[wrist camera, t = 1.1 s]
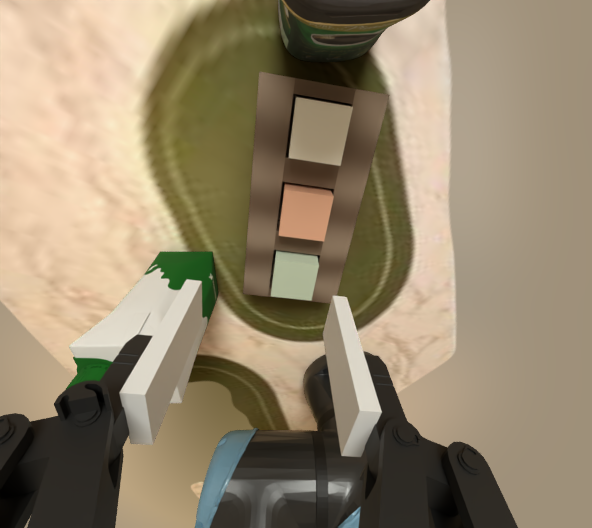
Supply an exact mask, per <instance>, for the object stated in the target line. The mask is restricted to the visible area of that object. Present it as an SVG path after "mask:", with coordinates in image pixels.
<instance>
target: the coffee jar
mask: <svg viewBox="0 0 592 528" xmlns="http://www.w3.org/2000/svg"><path fill="white" fill-rule="evenodd" d="M429 1H430V0H278V12H279V22H280V29H281V35H282V39H283V42H284V44H285V47H286V48H287V50H288V51H289V52H290V54H292V55H293V56H294V57H296V58H297V59H300V60H303V61H310V62H338V61H345V60H350V59H355V58H358V57H360V56H362V55H363V54H365V53H366V52H367V51H368V50H369V49H370V48H371V47H372V46H373V45H374V44H375V43H376V41H377V40H378V38H379V37H380V35H381V34H382V33H383V32H384V31H385V29H386V28H388V27H390V26H392V25H394V24H396V23H398V22H399V21H402V20H404V19H406V18H407V17H409V16H411V15H413V14H415V13H416V12H418V11H419V10H420V9H421V8H423V7H424V6H425V5H426V4H427V3H428V2H429Z"/></svg>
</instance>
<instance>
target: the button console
mask: <svg viewBox="0 0 592 528" xmlns="http://www.w3.org/2000/svg"><path fill="white" fill-rule="evenodd" d="M296 97H299V98H304V99H310V100H316V101H322V102H327V103H333V104H339V105H345V106H350V107H353V110H352V114H351V119H350V124H349V128H348V133H347V138H346V142H345V147H344V152H343V156H342V161H341V165H340V166H338V165H331V164H325V163H318V162H312V161H305V160H299V159H292V158H289V146H290V139H291V131H292V123H293V115H294V108H295V100H296ZM388 99H389V95H386V94H381V93H375V92H370V91H364V90H359V89H353V88H347V87H342V86H336V85H331V84H325V83H320V82H314V81H309V80H303V79H298V78H292V77H286V76H281V75H275V74H270V73H264V72H259V84H258V98H257V112H256V125H255V139H254V153H253V166H252V180H251V193H250V207H249V221H248V234H247V248H246V262H245V275H244V289H243V294H249V295H258V296H267V297H272V296H271V288H272V278H273V270H274V263H275V255H276V250H281V251H289V252H297V253H305V254H313V255H317V258H318V263H319V268H318V272H317V277H316V282H315V286H314V291H313V296H312V300H311V301H314V302H323V303H331V300H332V296H337V292H338V288H339V285H340V281H341V277H342V273H343V269H344V266H345V262H346V258H347V254H348V250H349V247H350V243H351V239H352V235H353V231H354V228H355V224H356V220H357V216H358V213H359V209H360V205H361V201H362V197H363V194H364V190H365V186H366V182H367V178H368V175H369V171H370V167H371V163H372V159H373V156H374V152H375V148H376V144H377V141H378V137H379V133H380V129H381V125H382V122H383V118H384V114H385V110H386V106H387V103H388ZM285 182H289V183H296V184H303V185H310V186H317V187H323V188H330V190H331V192H332V194H333V196H334V198H333V203H332V207H331V212H330V217H329V221H328V226H327V231H326V235H325V240H324V241H316V240H308V239H300V238H293V237H285V236H279V224H280V216H281V208H282V201H283V193H284V185H285ZM277 298H281V297H277ZM286 299H291V298H286ZM295 300H300V299H295ZM304 301H309V300H304Z"/></svg>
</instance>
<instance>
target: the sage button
mask: <svg viewBox="0 0 592 528" xmlns="http://www.w3.org/2000/svg"><path fill="white" fill-rule="evenodd" d="M318 268H319V263H318V258H317V255H313V254H305V253H297V252H289V251H281V250H276V255H275V263H274V270H273V278H272V288H271V296H272V297H281V298H291V299H300V300H309V301H311V300H312V296H313V291H314V286H315V282H316V277H317V272H318Z"/></svg>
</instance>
